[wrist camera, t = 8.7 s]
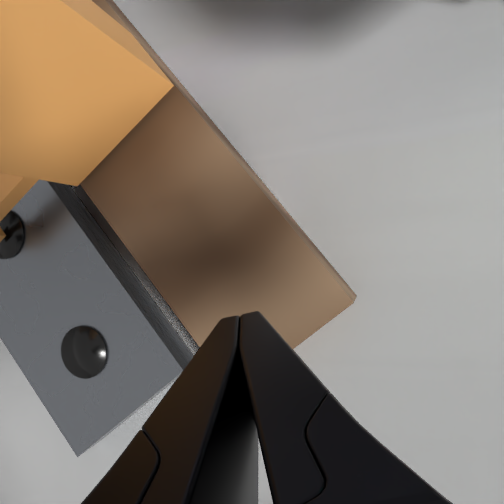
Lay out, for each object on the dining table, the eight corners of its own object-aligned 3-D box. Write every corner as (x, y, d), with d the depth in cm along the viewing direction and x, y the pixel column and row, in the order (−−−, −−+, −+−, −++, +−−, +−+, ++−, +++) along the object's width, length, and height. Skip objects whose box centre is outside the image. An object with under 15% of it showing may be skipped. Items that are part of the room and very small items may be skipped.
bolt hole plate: (197, 361, 20) (182, 371, 18) (97, 442, 21) (75, 458, 20) (-26, 55, 23) (-55, 41, 21) (-98, 146, 25) (-130, 139, 23)
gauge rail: (366, 288, 18) (339, 379, 6) (162, 444, 20) (-119, 709, 9) (82, -53, 21) (-282, -411, 9) (-59, 121, 24) (-471, 10, 12)
